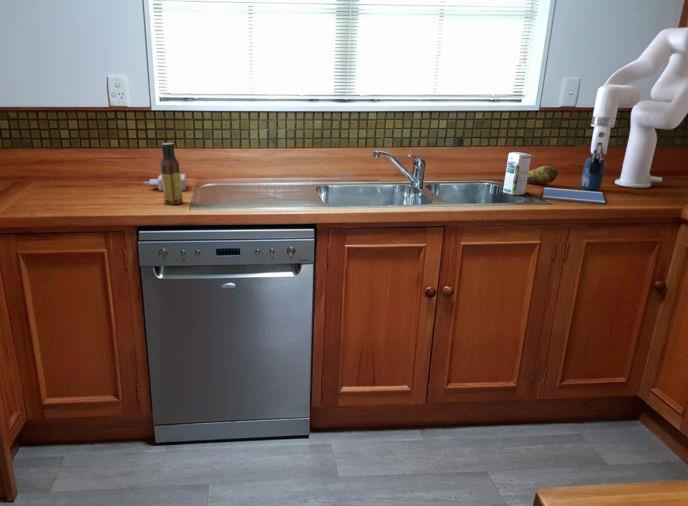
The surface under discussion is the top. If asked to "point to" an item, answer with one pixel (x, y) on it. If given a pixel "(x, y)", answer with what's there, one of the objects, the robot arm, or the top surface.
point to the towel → (573, 195)
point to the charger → (159, 182)
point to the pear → (542, 175)
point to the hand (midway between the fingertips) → (593, 171)
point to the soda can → (592, 176)
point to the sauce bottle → (171, 176)
